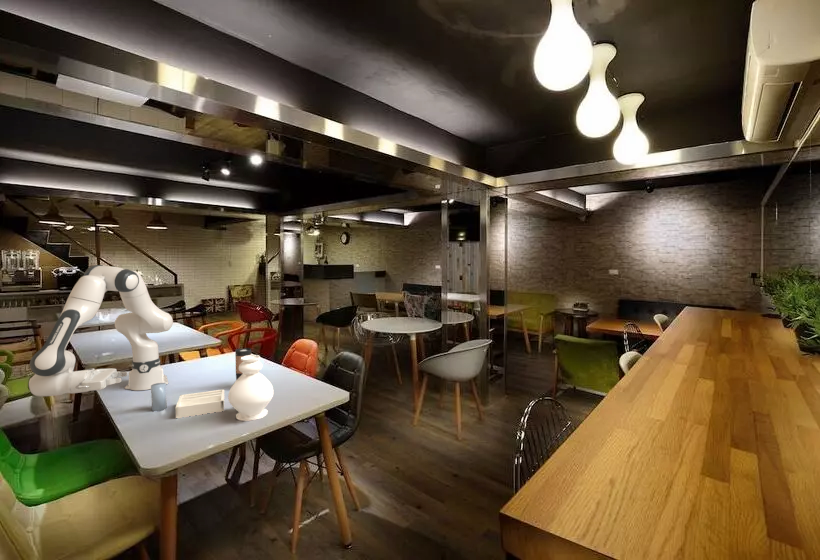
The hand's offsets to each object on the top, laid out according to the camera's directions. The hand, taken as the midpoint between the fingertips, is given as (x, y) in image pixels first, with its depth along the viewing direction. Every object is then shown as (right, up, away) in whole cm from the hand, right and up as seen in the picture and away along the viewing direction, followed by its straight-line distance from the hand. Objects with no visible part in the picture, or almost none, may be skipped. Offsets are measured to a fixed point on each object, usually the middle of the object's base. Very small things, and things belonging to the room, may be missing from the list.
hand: (124, 376), depth 162 cm
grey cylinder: (+11, -16, +6) cm, 20 cm away
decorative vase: (+55, -17, 0) cm, 57 cm away
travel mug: (+37, -15, +34) cm, 52 cm away
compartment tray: (+29, -16, +7) cm, 34 cm away
